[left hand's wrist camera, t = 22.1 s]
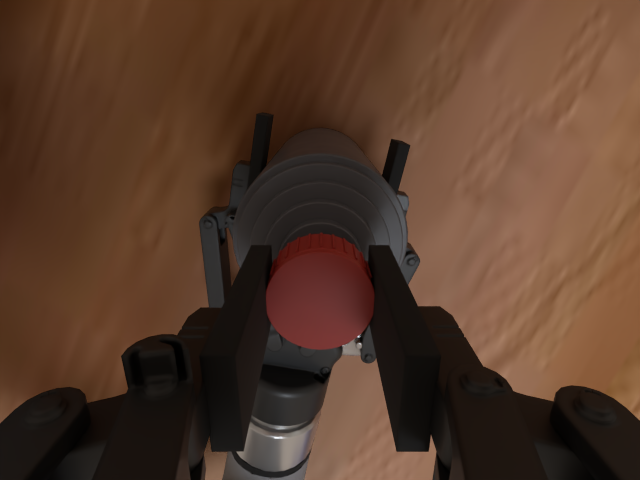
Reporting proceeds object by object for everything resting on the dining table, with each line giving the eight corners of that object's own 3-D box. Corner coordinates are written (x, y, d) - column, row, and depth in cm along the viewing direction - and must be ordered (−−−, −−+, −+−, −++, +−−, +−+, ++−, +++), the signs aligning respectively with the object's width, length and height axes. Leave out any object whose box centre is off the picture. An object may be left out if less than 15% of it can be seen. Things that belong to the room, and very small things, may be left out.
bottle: (376, 135, 32) (468, 194, 12) (359, 229, 35) (410, 400, 15) (277, 120, 31) (205, 157, 12) (267, 217, 34) (197, 375, 15)
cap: (391, 280, 14) (400, 305, 13) (318, 339, 15) (318, 369, 14) (321, 211, 14) (322, 226, 12) (249, 277, 14) (239, 301, 13)
